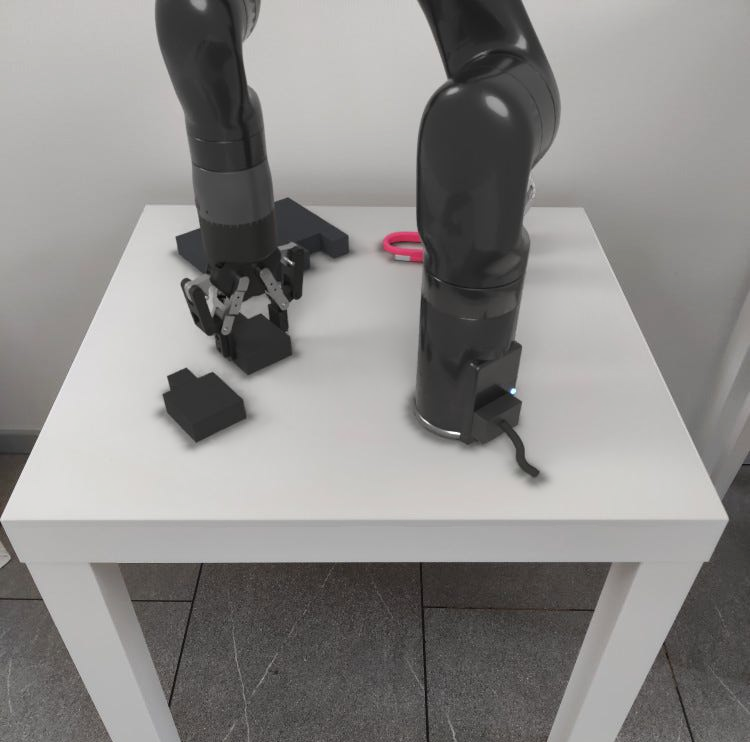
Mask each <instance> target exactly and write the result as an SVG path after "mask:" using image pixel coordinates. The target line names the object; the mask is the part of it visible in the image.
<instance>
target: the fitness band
mask: <svg viewBox="0 0 750 742" xmlns="http://www.w3.org/2000/svg"><path fill="white" fill-rule="evenodd" d="M396 242H410V243H411V242H412V243H422V242H421V240H420V237H419V234H418V231H405V230H404V231H395V232H391V233H388V234H387V235H386V236H384V238H383V240H382V247H383V249H384V251H386V252H388V253H391V254H394V260H395V261H404V262H405V261H406V262H423V249H417V248H402V247H398V246H394V245H391V244H394V243H396Z"/></svg>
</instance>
